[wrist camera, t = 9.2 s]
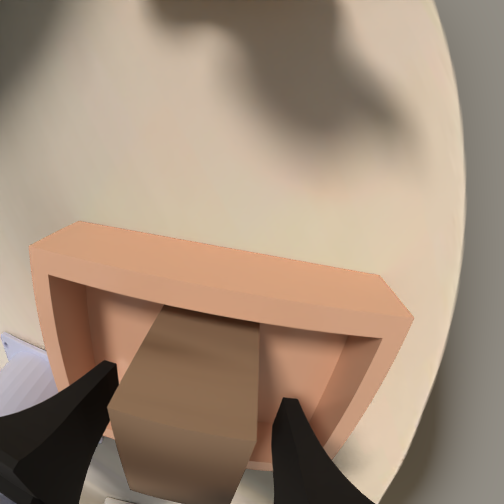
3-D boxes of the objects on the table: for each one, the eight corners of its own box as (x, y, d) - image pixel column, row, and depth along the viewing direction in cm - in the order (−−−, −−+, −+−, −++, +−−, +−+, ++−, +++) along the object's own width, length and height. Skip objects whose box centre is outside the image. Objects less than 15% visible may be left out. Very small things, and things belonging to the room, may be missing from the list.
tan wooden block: (237, 399, 15) (227, 511, 9) (166, 384, 15) (130, 489, 8) (259, 309, 13) (256, 441, 7) (171, 292, 13) (107, 407, 6)
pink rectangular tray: (315, 424, 17) (322, 472, 13) (94, 381, 17) (69, 421, 13) (379, 275, 14) (414, 318, 10) (78, 221, 13) (28, 245, 9)
